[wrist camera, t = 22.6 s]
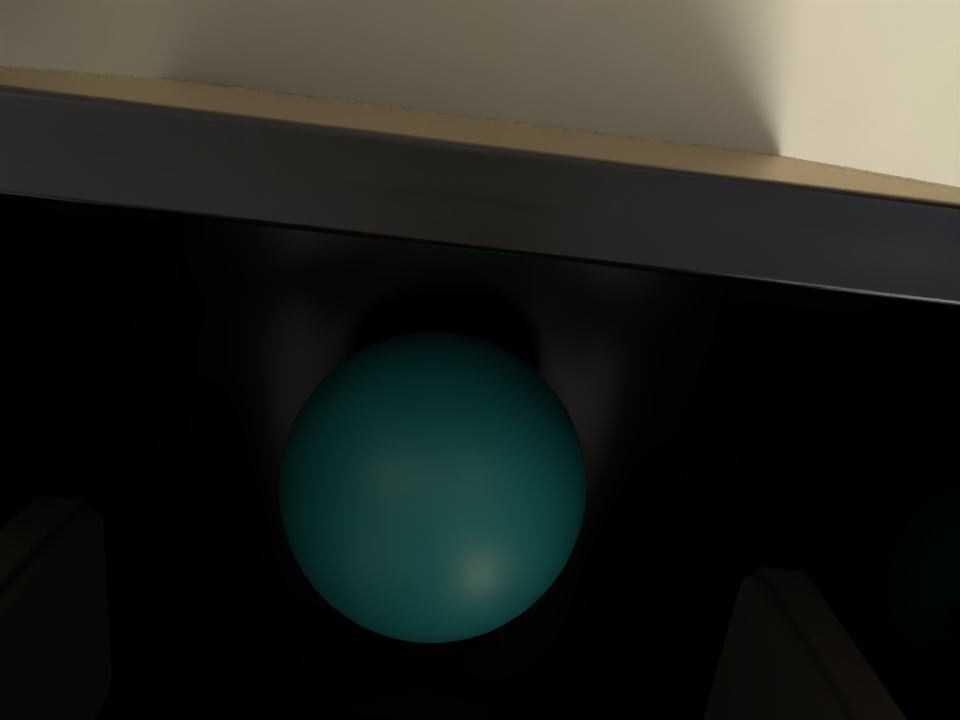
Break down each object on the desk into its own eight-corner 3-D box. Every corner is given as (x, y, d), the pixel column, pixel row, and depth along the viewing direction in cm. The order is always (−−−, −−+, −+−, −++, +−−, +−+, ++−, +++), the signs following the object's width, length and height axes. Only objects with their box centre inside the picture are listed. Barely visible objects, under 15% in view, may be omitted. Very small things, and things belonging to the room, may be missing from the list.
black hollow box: (155, 77, 16) (-399, 35, 6) (782, 155, 17) (1269, 240, 7) (167, 700, 22) (-114, 1246, 11) (642, 742, 22) (787, 1296, 12)
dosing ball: (377, 252, 17) (326, 332, 11) (614, 368, 18) (680, 498, 12) (274, 472, 18) (185, 639, 13) (495, 567, 19) (504, 763, 14)
